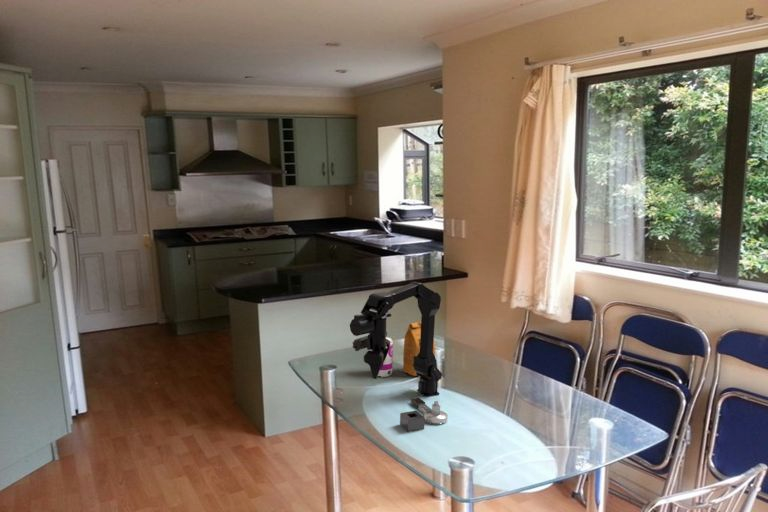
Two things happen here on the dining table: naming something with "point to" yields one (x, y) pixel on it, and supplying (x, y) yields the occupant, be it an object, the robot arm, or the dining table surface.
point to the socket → (412, 421)
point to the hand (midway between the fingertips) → (377, 374)
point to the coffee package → (412, 347)
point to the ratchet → (430, 411)
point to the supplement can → (387, 362)
